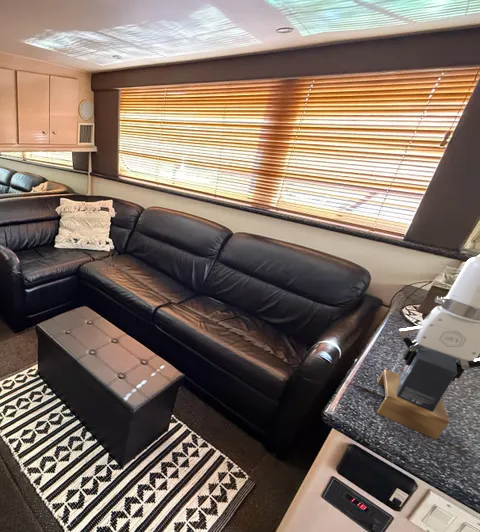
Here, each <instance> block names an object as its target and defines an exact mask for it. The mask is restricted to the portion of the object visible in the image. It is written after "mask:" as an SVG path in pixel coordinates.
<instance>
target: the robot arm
mask: <svg viewBox="0 0 480 532" xmlns="http://www.w3.org/2000/svg"><path fill="white" fill-rule="evenodd" d="M433 302H434V303H438V304H439V305H436V306H435V307H434V308H433V309H432V310H431V311H430V312H429V313H428V314H427V315H426V316H425V318H424V319H423V320H422V322H421V323H420V325H418V326H411V327H406V328H405V327H404V328H399V329H398V333H399V335H400V337H401V339H402V341H403V343H404V344H405V346H406V347H407V348H406V351H405V352H404V354H403V356H402V360H404V364H405V366H406V365H408V366H409V365H410V364H411V363H412V361H413V359H414V358H415V356H416V354H417V353H416V350H418V349H420V348H422V347H425V348H428V349H431V350H434V351H437V352H440V353H443V354H446V355H449V356H453V357H456V359H458V361H456V363H457V375H456V376H455V377H454V379H453V380H452V381H451V382H455V380H456V379H460V378H461V376H462V374H464V372H465V371H466V370H470V369H472V368H473V369H474V368H479V367H480V357H479V355H480V253H479V254H478V255H476V256H472V257H470V258H469V259H467V260H466V262H465V263H464V265H463V267H462V268H461V270H460V272H459V274H458V276H457V277H456V279H455V281H454V283H453V284H452V286H451V287H450V290H448V293H447V294H446V295H445V296H443V297H442V296H441V297H439V296H435V298H434V300H433ZM409 335H414V337H415V339H413V341H412V340H411V338H410V336H409Z"/></svg>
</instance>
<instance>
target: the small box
mask: <svg viewBox="0 0 480 532" xmlns="http://www.w3.org/2000/svg"><path fill="white" fill-rule="evenodd" d="M416 353H417V354H416V356H415V358H414V359H413V361H412V363H411V364H410V365H409V366H408V365H406V364H405V366H404V367H403V370H402V372H401V373H400V374H399V375H400V379H399V385H398V391H397V396H398V397H400V398H402V399H405V400H407V401H409V402H411V403H414V404H416V405H418V406H420V407H423V408H425V409H427V410H429V411H431V412H433V411H434V409H435V407H436V406H437V404H438V402H439V401H440V399H442V398H443V396H444V395H445V393H446V391H447V390H448V388H449V386H450V384H451V383H452V382H453V381H452V380H453V379H454V377H455V376H456V375H457V363H456V362H457V358H456V357H453V356H449V355H446V354H443V353H440V352H437V351H434V350H431V349H428V348H425V347H422V348H420V349H418V350H416Z"/></svg>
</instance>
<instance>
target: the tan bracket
mask: <svg viewBox="0 0 480 532" xmlns="http://www.w3.org/2000/svg"><path fill="white" fill-rule="evenodd" d="M400 375H401V374H399V373H396V372H395V371H394V372H393V371H391V370H389V369H386V368H384V369H383V371H382V372H381V375H380V376H379V378H378V380H377V385H380V386H382V387H384V395H385V397H384V398H383V400H382V402H381V404H380V406H379V407H378V408H377V414H378V415H380V416H382V417H385V418H386V419H390V420H392V421H394V422H395V423H398V424H400V425H402V426H405V427H407V428H409V429H412V430H414V431H416V432H418V433H421V434H423V435H425V436H427V437H429V438H432V439H434V440H438V438H440V436H441V434H442V433H443V431H444V430H445V428H446V427H447V425H448V424H449V423H450V418H449V416H448V413H447V411H446V408H445V404H444V402H443V399H442V398H441V399H440V401H439V402H438V404H437V406H436V407H435V409H434V411H433V412H431V411H429V410H427V409H425V408H423V407H420V406H418V405H416V404H414V403H411V402H409V401H407V400H405V399H402V398H400V397H398V396H397V391H398V385H399V379H400Z"/></svg>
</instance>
